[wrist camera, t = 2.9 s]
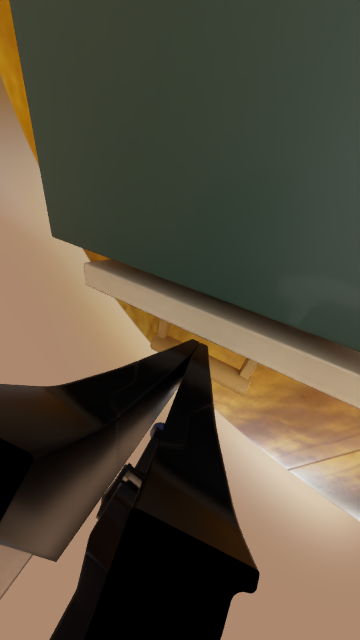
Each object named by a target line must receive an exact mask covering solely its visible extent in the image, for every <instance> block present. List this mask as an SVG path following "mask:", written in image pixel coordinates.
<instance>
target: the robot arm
mask: <svg viewBox="0 0 360 640" xmlns="http://www.w3.org/2000/svg"><path fill="white" fill-rule="evenodd" d="M179 385H180V386H179ZM178 387H179V388H178ZM177 388H178V391H177V393H176V396H175V399H174V401H173V404H172V406H171V409H170V412H169V414H168V417H167V420H166V422H165V425H164V427H163V430H161V429H160V428H158V427H156V428H155V429H154V433H153V436H152V438H151V440H150V442H149V443H148V445H147V447H146V449H145V450H144V452H143V454H142V456H141V457H140V459H139V461H138V463H137V465H136V466H135V468H134V467H132V465H131V464H130V463H129V464H128V465H124V464H125V463H126V461H127V460H128V458H129V457H130V456H131V454H132V453H133V451H134V450H135V448H136V447H137V446H138V444H139V443H140V441H141V440H142V438H143V437H144V435H145V434H146V433H147V431H148V430H149V428H150V427H151V425H152V424H153V423H154V421H155V420H156V418H157V417H158V415H159V414H160V413H161V411H162V410H163V408H164V407H165V405H166V404H167V403H168V401H169V400H170V398H171V397H172V395H173V394H174V392H175V391H176V390H177ZM123 466H124V467H123ZM122 467H123V469H122V470H121V468H122ZM120 470H121V472H120V473H119V471H120ZM118 473H119V475H118V476H117V474H118ZM116 476H117V478H116V479H115V481H114V482H113V480H114V478H115V477H116ZM112 482H113V483H112ZM111 483H112V484H111ZM110 484H111V486H110ZM109 486H110V487H109ZM108 487H109V488H108ZM107 489H108V490H107ZM106 490H107V491H106ZM104 493H105V494H104ZM103 494H104V495H103ZM102 496H103V497H102ZM101 497H102V499H101V506H100V509H99V511H98V514H97V516H96V518H97V519H98V521H97V523H96V525H95V526H94V528H93V530H92V532H91V534H90V536H89V539H88V544H87V548H86V553H85V557H84V561H83V565H82V570H81V573H80V578H79V582H78V586H77V589H76V592H75V594H74V595H73V597H72V599H71V601H70V603H69V605H68V606H67V608H66V610H65V612H64V614H63V616H62V618H61V619H60V621H59V623H58V625H57V627H56V629H55V631H54V633H53V634H52V636H51V638H50V640H220V639H221V636H222V633H223V629H224V625H225V621H226V618H227V614H228V610H229V607H230V603H231V600H232V598H233V596H234V595H235V594H237V593H239V592H247V593H254V592H255V591H256V589H257V585H258V580H259V571H258V569H257V567H256V564H255V562H254V560H253V558H252V555H251V553H250V551H249V549H248V546H247V544H246V542H245V539H244V537H243V534H242V532H241V529H240V527H239V524H238V520H237V517H236V514H235V510H234V507H233V503H232V499H231V494H230V490H229V485H228V480H227V476H226V471H225V467H224V463H223V458H222V453H221V449H220V444H219V439H218V433H217V428H216V421H215V414H214V404H213V394H212V384H211V374H210V364H209V354H208V346H207V345H204V344H202V343H199V342H198V341H196V340H194V339H191V340H189V341H186V342H184V343H181V344H179V345H176V346H174V347H171V348H169V349H166V350H164V351H161V352H159V353H156V354H154V355H151V356H149V357H146V358H144V359H142V360H139V361H136V362H133V363H131V364H128V365H126V366H123V367H120V368H117V369H114V370H111V371H108V372H105V373H101V374H98V375H94V376H91V377H87V378H84V379H81V380H77V381H74V382H70V383H66V384H62V385H57V386H44V387H43V386H25V385H9V384H0V600H1V598H2V597H3V595H4V594H5V593H6V591H7V590H8V589H9V587H10V586H11V585H12V583H13V582H14V580H15V579H16V578H17V576H18V575H19V573H20V572H21V571H22V569H23V568H24V566H25V565H26V564H27V562H28V561H29V560H30V559H31V557H32V556H33V555H36V556H38V557H42V558H45V559H48V560H52V561H55V562H57V560H58V559H59V557H60V556H61V555H62V553H63V552H64V550H65V549H66V547H67V546H68V545H69V543H70V542H71V540H72V539H73V537H74V536H75V535H76V533H77V532H78V530H79V529H80V527H81V526H82V524H83V523H84V522H85V520H86V519H87V517H88V516H89V514H90V513H91V512H92V510H93V509H94V507H95V506H96V504H97V503H98V502H99V500H100V498H101Z"/></svg>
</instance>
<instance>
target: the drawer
mask: <svg viewBox="0 0 360 640" xmlns="http://www.w3.org/2000/svg"><path fill="white" fill-rule="evenodd" d="M84 271H85V281H86V285H88V286H90V287H92V288H94V289H96V290H99V291H101V292H103V293H105V294H107V295H110V296H112V297H114V298H116V299H118V300H121V301H123V302H125V303H127V304H129V305H132V306H134V307H136V308H138V309H140V310H143V311H145V312H147V313H149V314H151V315H154V316H156V317H158V318H160V323H159V328H158V333H156V335H155V336H154V337H153V339H152V342H151V348H152V349H153V350H155V351H157V352H161V351H164V350H166V349H169V348H171V347H174V346H176V345H179V344H181V343H182V342H180V341H178V340H176V339H174V338H172V337H170V336H168V331H169V327H170V323H171V324H174V325H176V326H178V327H180V328H182V329H185V330H187V331H189V332H191V333H193V334H196V335H198V336H200V337H202V338H204V339H207V340H209V341H211V342H213V343H215V344H218V345H220V346H222V347H224V348H226V349H229V350H231V351H233V352H235V353H237V354H240V355H242V356H244V357H246V358H247V359H246V360H245V362H244V364H243V365H242V367H241V369H240V370H239V369H237V368H234V367H232V366H230V365H228V364H226V363H224V362H222V361H220V360H218V359H216V358H214V357H212V356H209V364H210V374H211V380H213V381H215V382H217V383H219V384H221V385H223V386H225V387H226V388H228V389H230V390H232V391H234V392H236V393H238V394H240V395H242V396H243V395H245V394H246V392H247V390H248V388H249V386H250V383H251V375H252V373H253V372H254V370H255V369H256V367H257V366H258V364H262V365H264V366H266V367H268V368H270V369H273V370H275V371H277V372H279V373H281V374H284V375H286V376H288V377H290V378H292V379H295V380H297V381H299V382H301V383H303V384H306V385H308V386H310V387H312V388H314V389H317V390H319V391H321V392H323V393H325V394H328V395H330V396H332V397H334V398H336V399H339V400H341V401H343V402H345V403H348V404H350V405H352V406H354V407H356V408H359V409H360V352H358V351H355V350H353V349H350V348H347V347H345V346H342V345H339V344H337V343H334V342H331V341H329V340H326V339H323V338H321V337H318V336H315V335H313V334H310V333H307V332H305V331H302V330H299V329H297V328H294V327H291V326H289V325H286V324H283V323H281V322H278V321H275V320H273V319H270V318H267V317H265V316H262V315H259V314H257V313H254V312H251V311H249V310H246V309H243V308H241V307H238V306H236V305H233V304H230V303H228V302H225V301H222V300H220V299H217V298H214V297H212V296H209V295H206V294H204V293H201V292H198V291H196V290H193V289H190V288H188V287H185V286H182V285H180V284H177V283H174V282H172V281H169V280H166V279H164V278H161V277H158V276H156V275H153V274H150V273H148V272H145V271H142V270H140V269H137V268H134V267H132V266H129V265H126V264H124V263H121V262H118V261H116V260H113V259H111V260H103V261H95V262H88V263H84Z"/></svg>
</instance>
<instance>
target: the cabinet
mask: <svg viewBox="0 0 360 640" xmlns="http://www.w3.org/2000/svg"><path fill="white" fill-rule="evenodd" d="M9 1H10V7H11V12H12V18H13V23H14V29H15V34H16V40H17V45H18V51H19V56H20V62H21V67H22V73H23V78H24V84H25V89H26V95H27V100H28V106H29V112H30V117H31V123H32V128H33V134H34V139H35V145H36V150H37V156H38V161H39V167H40V172H41V178H42V183H43V189H44V194H45V200H46V205H47V211H48V216H49V222H50V227H51V233H52V236H53V237H55V238H57V239H60V240H63V241H65V242H68V243H70V244H73V245H76V246H78V247H81V248H84V249H86V250H89V251H92V252H94V253H97V254H100V255H102V256H105V257H108V258H110V259H113V260H116V261H118V262H121V263H124V264H126V265H129V266H132V267H134V268H137V269H140V270H142V271H145V272H148V273H150V274H153V275H156V276H158V277H161V278H164V279H166V280H169V281H172V282H174V283H177V284H180V285H182V286H185V287H188V288H190V289H193V290H196V291H198V292H201V293H204V294H206V295H209V296H212V297H214V298H217V299H220V300H222V301H225V302H228V303H230V304H233V305H236V306H238V307H241V308H243V309H246V310H249V311H251V312H254V313H257V314H259V315H262V316H265V317H267V318H270V319H273V320H275V321H278V322H281V323H283V324H286V325H289V326H291V327H294V328H297V329H299V330H302V331H305V332H307V333H310V334H313V335H315V336H318V337H321V338H323V339H326V340H329V341H331V342H334V343H337V344H339V345H342V346H345V347H347V348H350V349H353V350H355V351H358V352H360V0H9Z"/></svg>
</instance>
